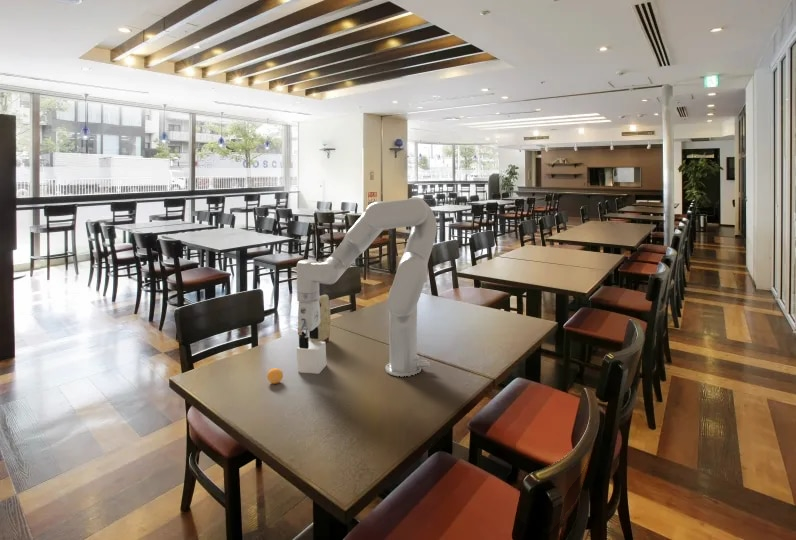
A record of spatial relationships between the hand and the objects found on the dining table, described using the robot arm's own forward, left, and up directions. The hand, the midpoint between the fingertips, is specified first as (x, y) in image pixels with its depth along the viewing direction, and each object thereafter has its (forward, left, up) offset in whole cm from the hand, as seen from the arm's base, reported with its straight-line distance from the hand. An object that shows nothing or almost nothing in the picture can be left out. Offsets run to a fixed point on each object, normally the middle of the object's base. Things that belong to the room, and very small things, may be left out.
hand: (309, 343), depth 160 cm
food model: (+5, -26, -10) cm, 28 cm away
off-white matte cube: (-1, 0, -10) cm, 9 cm away
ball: (+7, +13, -7) cm, 16 cm away
